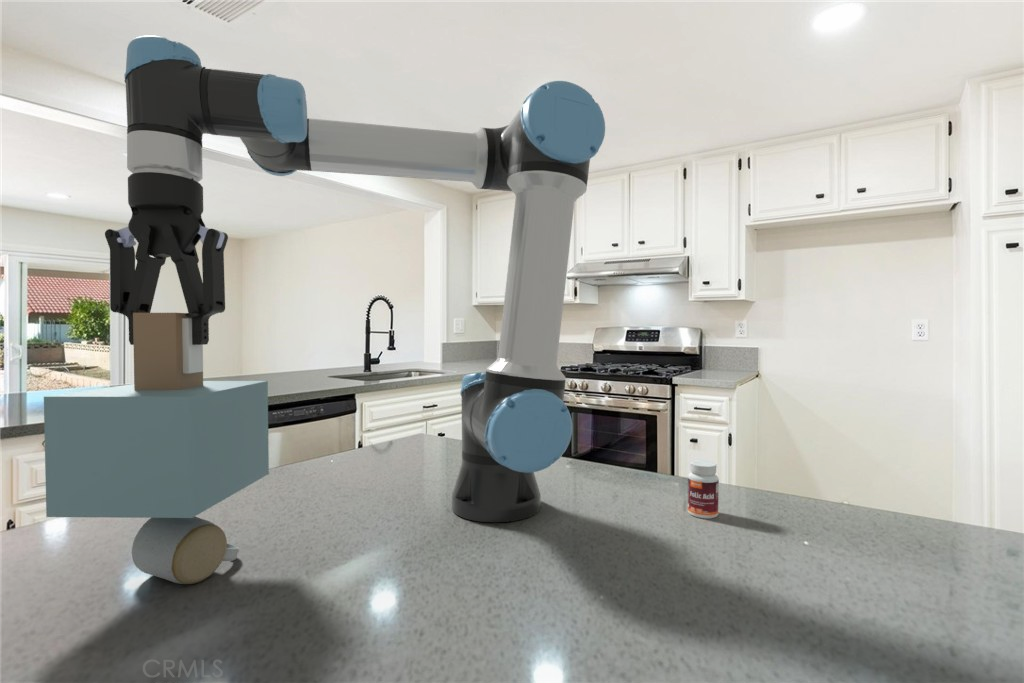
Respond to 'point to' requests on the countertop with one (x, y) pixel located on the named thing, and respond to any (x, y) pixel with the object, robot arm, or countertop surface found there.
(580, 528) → the countertop surface
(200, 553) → the ceramic mug
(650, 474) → the countertop surface
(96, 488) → the pale blue storage box
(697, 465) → the pill bottle
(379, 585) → the countertop surface
